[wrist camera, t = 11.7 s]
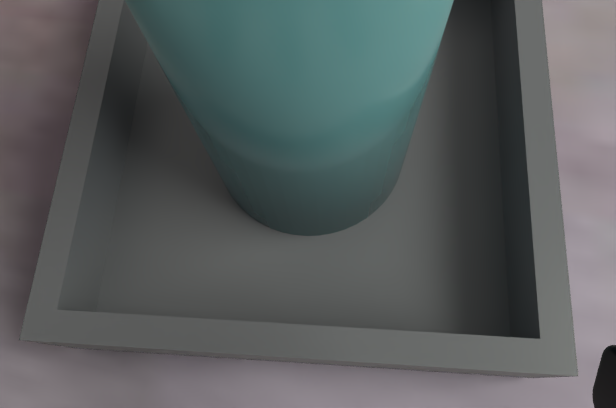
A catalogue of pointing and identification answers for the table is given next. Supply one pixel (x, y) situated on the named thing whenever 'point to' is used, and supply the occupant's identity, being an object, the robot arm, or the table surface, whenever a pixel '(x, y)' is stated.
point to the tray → (323, 248)
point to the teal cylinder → (300, 97)
